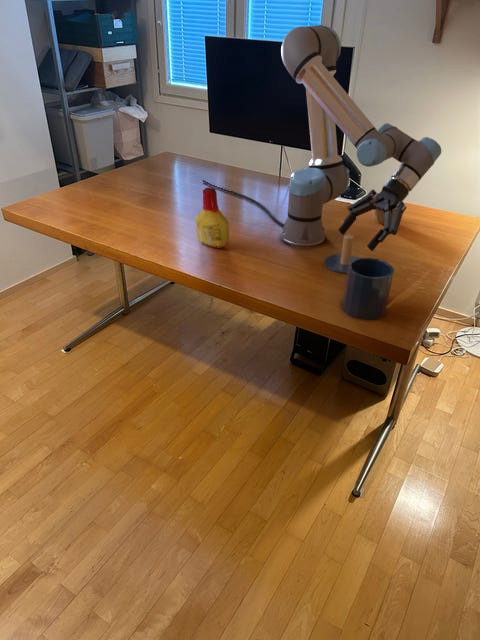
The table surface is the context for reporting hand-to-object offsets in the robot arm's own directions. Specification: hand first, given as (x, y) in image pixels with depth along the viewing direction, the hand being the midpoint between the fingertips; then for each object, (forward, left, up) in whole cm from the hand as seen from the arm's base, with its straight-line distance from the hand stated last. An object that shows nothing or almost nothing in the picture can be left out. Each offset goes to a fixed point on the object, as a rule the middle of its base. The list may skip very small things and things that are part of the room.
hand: (354, 240), depth 149 cm
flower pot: (-9, +40, -9) cm, 42 cm away
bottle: (-43, -19, -9) cm, 48 cm away
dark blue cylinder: (+16, -20, -8) cm, 27 cm away
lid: (-1, -2, -8) cm, 8 cm away
